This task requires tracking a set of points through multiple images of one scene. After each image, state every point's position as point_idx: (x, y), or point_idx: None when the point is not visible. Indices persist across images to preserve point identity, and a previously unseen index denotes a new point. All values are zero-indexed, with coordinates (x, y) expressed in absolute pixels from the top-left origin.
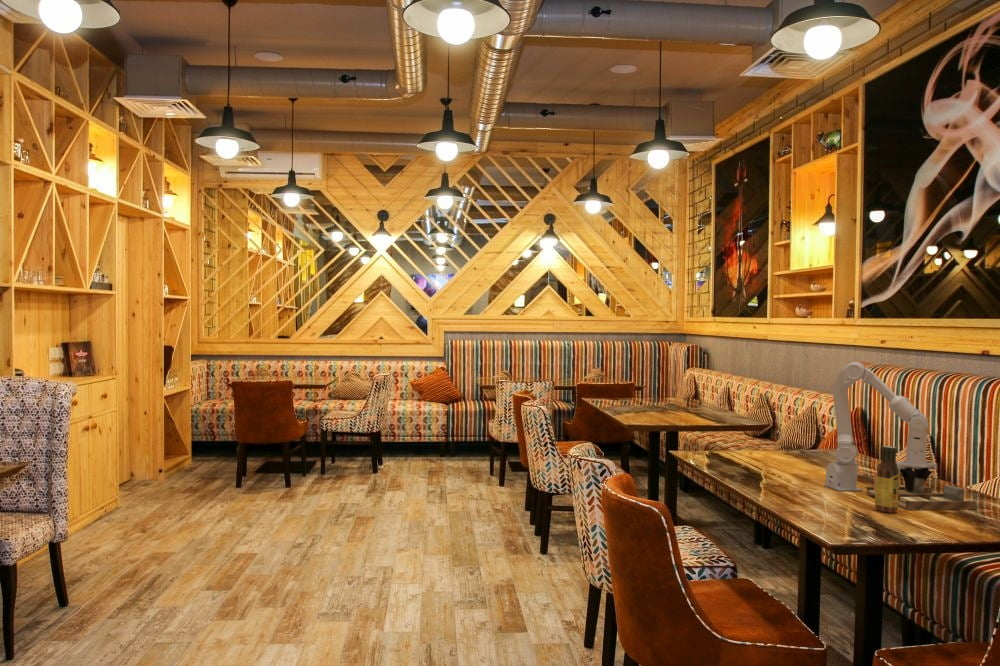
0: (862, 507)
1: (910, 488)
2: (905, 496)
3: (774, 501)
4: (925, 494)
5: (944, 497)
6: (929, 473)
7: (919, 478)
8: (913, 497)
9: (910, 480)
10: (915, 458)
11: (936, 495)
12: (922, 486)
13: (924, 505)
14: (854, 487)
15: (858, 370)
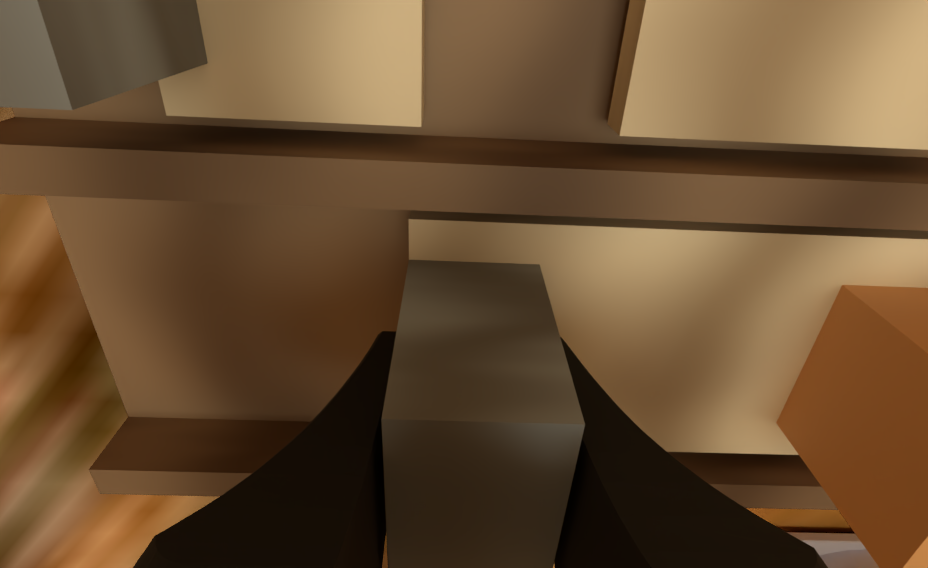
0: None
1: (576, 360)
2: (827, 170)
3: None
4: (482, 164)
5: (197, 26)
6: (204, 543)
7: (425, 485)
8: (752, 109)
9: (651, 442)
10: None
11: (274, 149)
12: (428, 329)
13: None
14: (843, 565)
15: None
